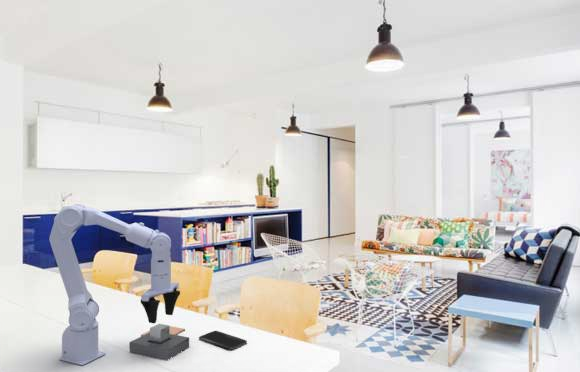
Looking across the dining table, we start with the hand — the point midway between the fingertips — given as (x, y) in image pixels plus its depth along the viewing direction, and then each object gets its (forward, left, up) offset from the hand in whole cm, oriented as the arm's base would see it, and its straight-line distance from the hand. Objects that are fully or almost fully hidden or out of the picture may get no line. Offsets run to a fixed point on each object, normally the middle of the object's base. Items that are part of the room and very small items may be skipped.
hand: (161, 318), depth 120 cm
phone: (+14, +13, -10) cm, 21 cm away
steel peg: (0, 0, -9) cm, 9 cm away
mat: (-8, +11, -9) cm, 17 cm away
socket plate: (0, 0, -9) cm, 9 cm away
